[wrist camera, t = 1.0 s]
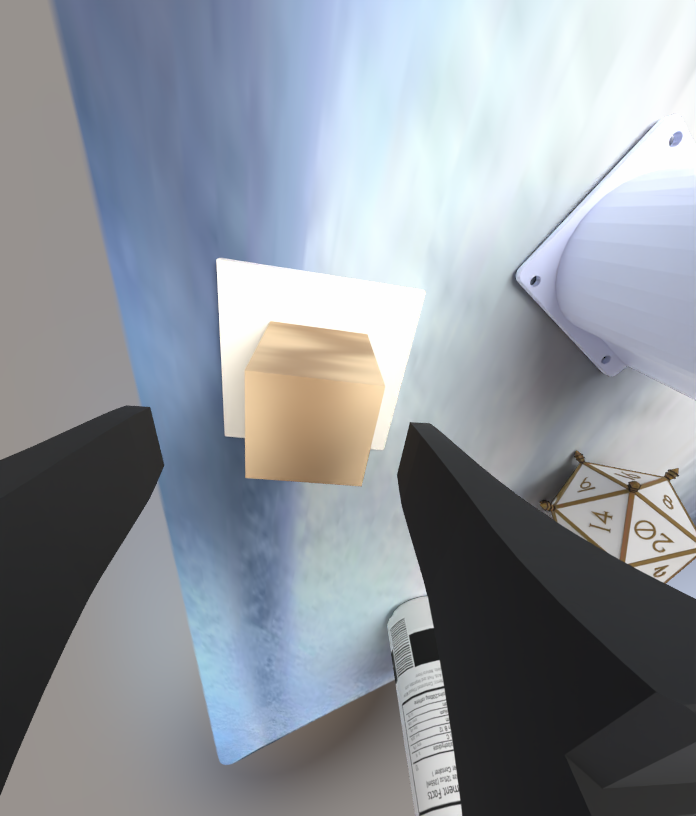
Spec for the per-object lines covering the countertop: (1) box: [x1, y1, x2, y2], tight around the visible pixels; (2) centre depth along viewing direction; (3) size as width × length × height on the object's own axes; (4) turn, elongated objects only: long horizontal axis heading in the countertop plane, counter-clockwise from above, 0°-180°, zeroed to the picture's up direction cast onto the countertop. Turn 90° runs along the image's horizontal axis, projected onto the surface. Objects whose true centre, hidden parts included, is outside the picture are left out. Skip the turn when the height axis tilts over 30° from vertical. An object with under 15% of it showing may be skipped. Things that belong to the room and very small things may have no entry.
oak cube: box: [245, 321, 385, 486], centre depth 15 cm, size 5×5×6 cm
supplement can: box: [387, 596, 462, 816], centre depth 27 cm, size 8×8×15 cm
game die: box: [540, 451, 696, 584], centre depth 21 cm, size 9×8×10 cm
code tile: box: [217, 258, 426, 450], centre depth 18 cm, size 10×10×1 cm
